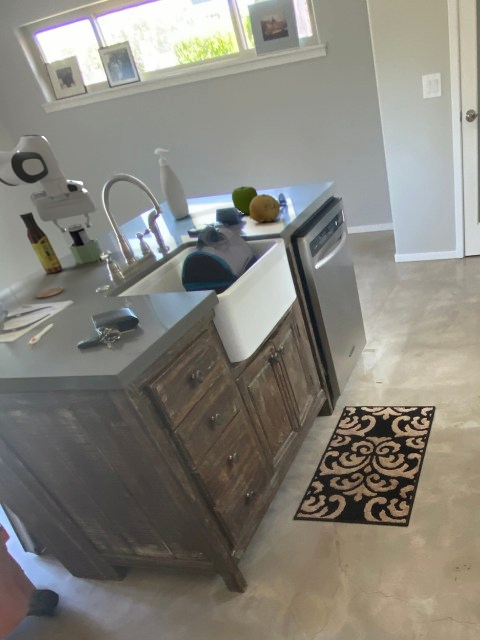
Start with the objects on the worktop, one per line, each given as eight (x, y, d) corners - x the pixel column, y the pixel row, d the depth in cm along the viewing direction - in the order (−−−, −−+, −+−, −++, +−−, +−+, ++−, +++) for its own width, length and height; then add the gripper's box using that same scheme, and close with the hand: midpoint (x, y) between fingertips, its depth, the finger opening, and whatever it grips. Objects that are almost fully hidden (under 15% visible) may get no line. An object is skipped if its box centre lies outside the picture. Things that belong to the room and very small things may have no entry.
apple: (233, 217, 229) (225, 189, 222) (243, 211, 237) (235, 183, 230) (255, 215, 227) (248, 187, 219) (265, 209, 234) (258, 181, 227)
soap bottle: (183, 220, 237) (159, 150, 219) (168, 222, 239) (143, 152, 220) (198, 212, 247) (176, 144, 229) (183, 213, 249) (160, 146, 231)
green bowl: (75, 265, 201) (67, 248, 197) (79, 258, 208) (72, 242, 204) (101, 260, 202) (93, 243, 198) (104, 253, 209) (97, 237, 205)
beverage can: (94, 256, 208) (79, 223, 200) (99, 257, 205) (84, 224, 197) (80, 260, 205) (64, 227, 197) (85, 262, 202) (69, 228, 194)
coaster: (33, 300, 173) (32, 299, 173) (39, 291, 180) (38, 290, 180) (60, 294, 174) (60, 293, 174) (65, 286, 181) (65, 285, 181)
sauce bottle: (58, 273, 195) (28, 214, 182) (43, 275, 196) (11, 216, 182) (66, 267, 200) (37, 210, 187) (51, 269, 201) (21, 212, 187)
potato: (257, 219, 221) (250, 193, 214) (285, 217, 218) (279, 190, 211) (249, 226, 213) (242, 199, 207) (277, 224, 211) (271, 196, 204)
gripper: (25, 195, 185) (47, 237, 194) (83, 184, 187) (102, 226, 197) (29, 192, 190) (50, 233, 199) (86, 181, 192) (104, 222, 201)
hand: (77, 229), depth 198 cm, fingers open, 8 cm apart
